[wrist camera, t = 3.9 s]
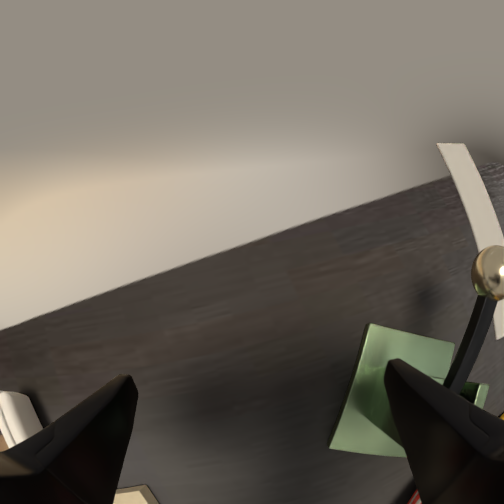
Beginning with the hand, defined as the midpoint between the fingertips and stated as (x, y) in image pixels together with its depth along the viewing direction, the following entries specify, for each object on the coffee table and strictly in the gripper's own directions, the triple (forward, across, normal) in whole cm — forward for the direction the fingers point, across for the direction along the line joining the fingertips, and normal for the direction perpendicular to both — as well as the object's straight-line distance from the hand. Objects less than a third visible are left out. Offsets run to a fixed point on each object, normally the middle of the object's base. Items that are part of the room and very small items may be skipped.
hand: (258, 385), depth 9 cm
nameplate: (+17, -23, +1) cm, 28 cm away
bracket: (+8, -11, +12) cm, 18 cm away
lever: (+5, -12, +4) cm, 14 cm away
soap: (+4, +27, +15) cm, 31 cm away
